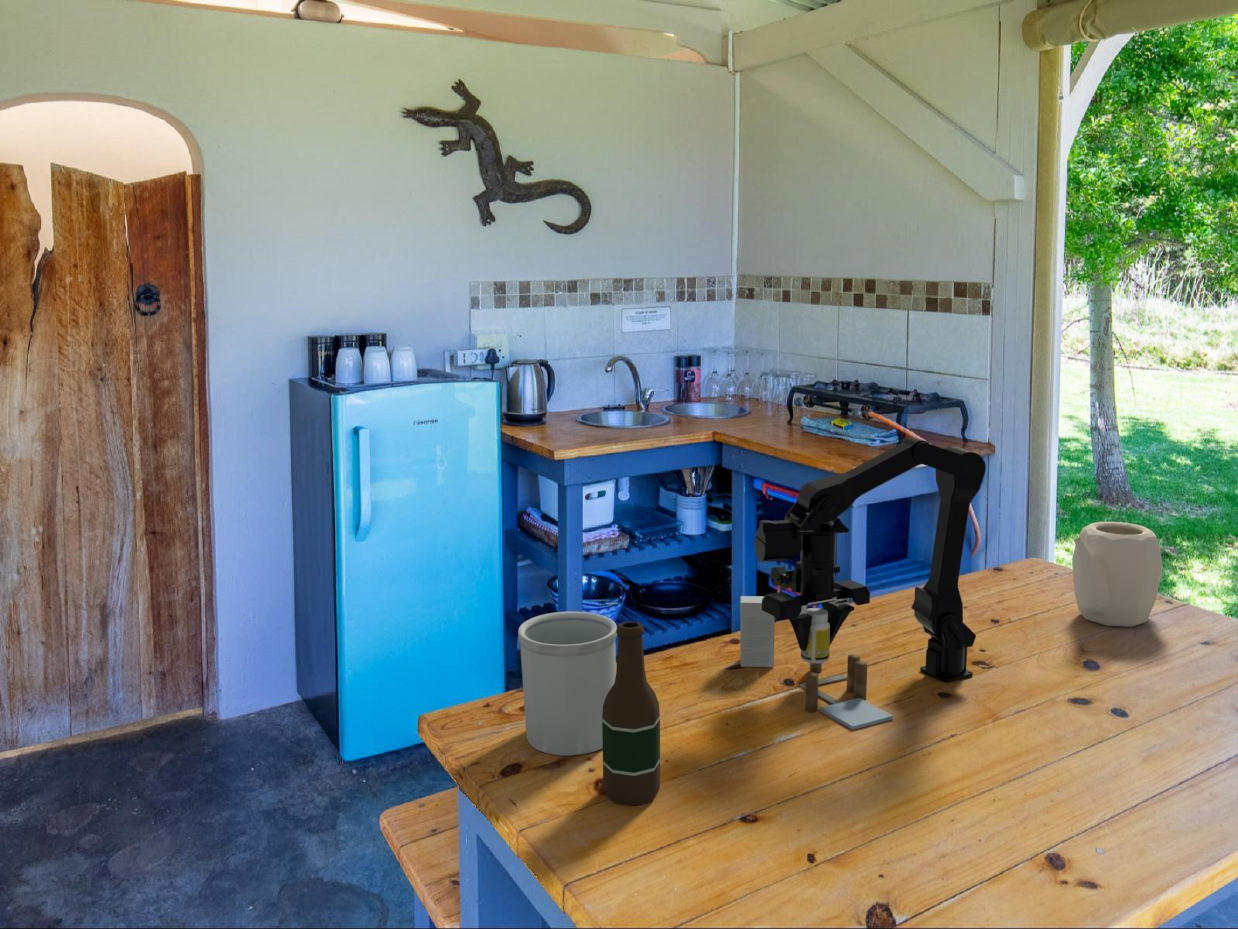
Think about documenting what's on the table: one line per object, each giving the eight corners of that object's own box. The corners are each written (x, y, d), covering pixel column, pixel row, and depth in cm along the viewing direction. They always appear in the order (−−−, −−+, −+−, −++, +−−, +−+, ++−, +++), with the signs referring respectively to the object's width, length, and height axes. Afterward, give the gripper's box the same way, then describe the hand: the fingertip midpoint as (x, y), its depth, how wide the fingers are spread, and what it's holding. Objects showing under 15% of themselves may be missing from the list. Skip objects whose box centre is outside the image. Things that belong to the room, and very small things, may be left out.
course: (823, 666, 188) (824, 634, 186) (880, 695, 174) (881, 661, 173) (755, 681, 181) (756, 648, 180) (810, 713, 168) (810, 678, 167)
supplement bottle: (831, 655, 180) (832, 608, 178) (827, 665, 176) (828, 617, 174) (803, 652, 181) (804, 605, 180) (798, 662, 177) (799, 614, 176)
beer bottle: (601, 780, 147) (598, 616, 142) (656, 778, 147) (656, 613, 143) (605, 809, 139) (602, 635, 135) (663, 805, 140) (663, 633, 135)
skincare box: (773, 659, 191) (774, 596, 189) (774, 668, 187) (775, 603, 185) (739, 658, 192) (740, 595, 189) (739, 667, 188) (740, 602, 185)
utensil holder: (545, 767, 151) (542, 651, 148) (506, 728, 164) (503, 620, 161) (635, 745, 158) (634, 633, 154) (591, 709, 171) (590, 605, 167)
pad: (859, 701, 172) (859, 697, 172) (892, 719, 165) (893, 715, 165) (820, 711, 169) (820, 707, 169) (852, 730, 162) (852, 726, 162)
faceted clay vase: (1032, 623, 209) (1038, 530, 205) (1109, 598, 223) (1116, 511, 220) (1106, 645, 196) (1114, 547, 192) (1182, 618, 211) (1191, 526, 207)
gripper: (831, 540, 186) (829, 624, 189) (743, 554, 178) (742, 642, 181) (874, 555, 177) (870, 644, 180) (782, 570, 168) (780, 663, 171)
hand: (815, 647), depth 178 cm, fingers closed on supplement bottle, 5 cm apart
